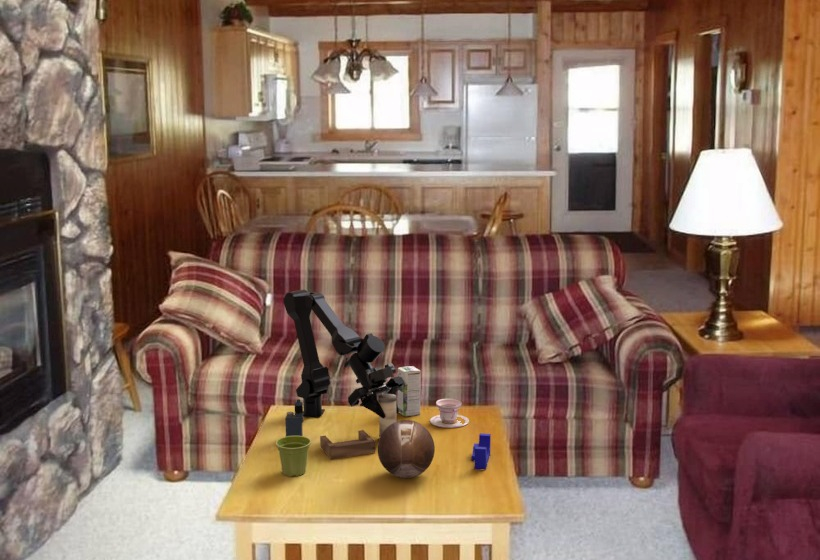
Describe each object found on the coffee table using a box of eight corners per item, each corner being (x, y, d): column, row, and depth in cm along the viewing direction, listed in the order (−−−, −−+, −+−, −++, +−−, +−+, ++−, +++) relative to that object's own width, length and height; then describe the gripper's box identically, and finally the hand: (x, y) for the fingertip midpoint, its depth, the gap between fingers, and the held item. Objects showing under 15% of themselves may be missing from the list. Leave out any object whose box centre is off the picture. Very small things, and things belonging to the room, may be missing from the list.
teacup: (424, 418, 312) (424, 399, 310) (461, 414, 315) (461, 395, 314) (437, 430, 300) (436, 410, 299) (474, 426, 304) (474, 406, 303)
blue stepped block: (474, 453, 282) (474, 433, 280) (490, 454, 281) (490, 433, 280) (469, 469, 270) (469, 448, 269) (485, 470, 269) (485, 449, 268)
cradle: (320, 447, 287) (320, 436, 286) (363, 441, 291) (363, 429, 291) (331, 459, 278) (331, 447, 277) (375, 452, 282) (375, 441, 282)
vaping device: (303, 440, 292) (302, 401, 290) (285, 440, 292) (284, 401, 290) (304, 437, 295) (303, 398, 292) (286, 437, 295) (285, 398, 292)
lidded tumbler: (380, 432, 296) (380, 393, 293) (398, 433, 295) (397, 393, 293) (377, 438, 291) (377, 398, 288) (395, 439, 290) (395, 399, 288)
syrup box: (396, 411, 317) (396, 367, 314) (413, 409, 320) (413, 365, 317) (404, 417, 312) (403, 372, 309) (421, 414, 315) (421, 369, 312)
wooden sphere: (385, 489, 256) (384, 433, 254) (372, 468, 271) (371, 415, 268) (441, 483, 260) (441, 428, 257) (425, 462, 275) (425, 410, 272)
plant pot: (319, 470, 270) (318, 439, 268) (296, 482, 262) (295, 450, 260) (292, 463, 275) (291, 433, 273) (269, 474, 267) (268, 443, 266)
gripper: (354, 362, 284) (381, 408, 279) (400, 349, 297) (427, 393, 292) (335, 383, 291) (362, 428, 286) (381, 370, 304) (408, 413, 299)
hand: (391, 415), depth 291 cm, fingers closed on lidded tumbler, 5 cm apart
